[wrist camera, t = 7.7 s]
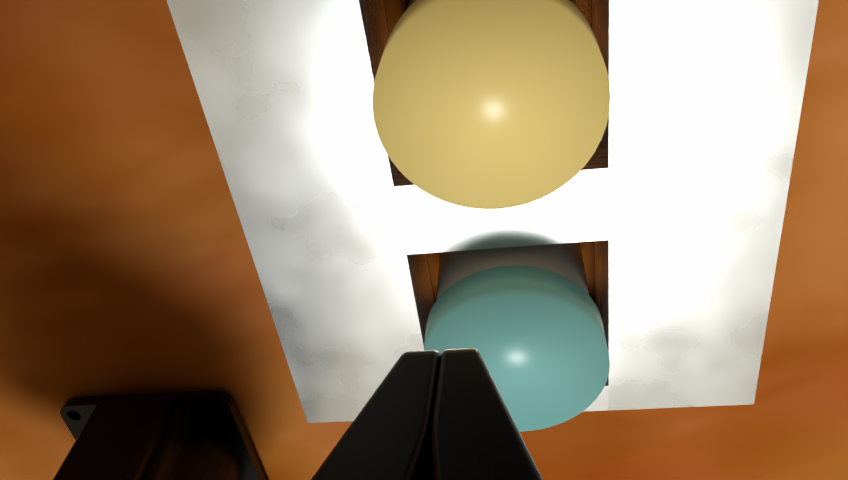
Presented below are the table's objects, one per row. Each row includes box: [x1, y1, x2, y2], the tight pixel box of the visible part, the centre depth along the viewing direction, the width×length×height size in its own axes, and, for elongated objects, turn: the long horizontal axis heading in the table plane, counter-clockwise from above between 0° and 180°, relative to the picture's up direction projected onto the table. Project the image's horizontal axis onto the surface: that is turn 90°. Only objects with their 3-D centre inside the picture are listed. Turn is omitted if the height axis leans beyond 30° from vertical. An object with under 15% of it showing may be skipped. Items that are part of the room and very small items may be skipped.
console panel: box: [167, 0, 819, 423], centre depth 17 cm, size 21×13×3 cm, turn 8°
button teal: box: [424, 242, 610, 432], centre depth 20 cm, size 5×5×4 cm
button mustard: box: [373, 0, 611, 209], centre depth 16 cm, size 5×5×4 cm
